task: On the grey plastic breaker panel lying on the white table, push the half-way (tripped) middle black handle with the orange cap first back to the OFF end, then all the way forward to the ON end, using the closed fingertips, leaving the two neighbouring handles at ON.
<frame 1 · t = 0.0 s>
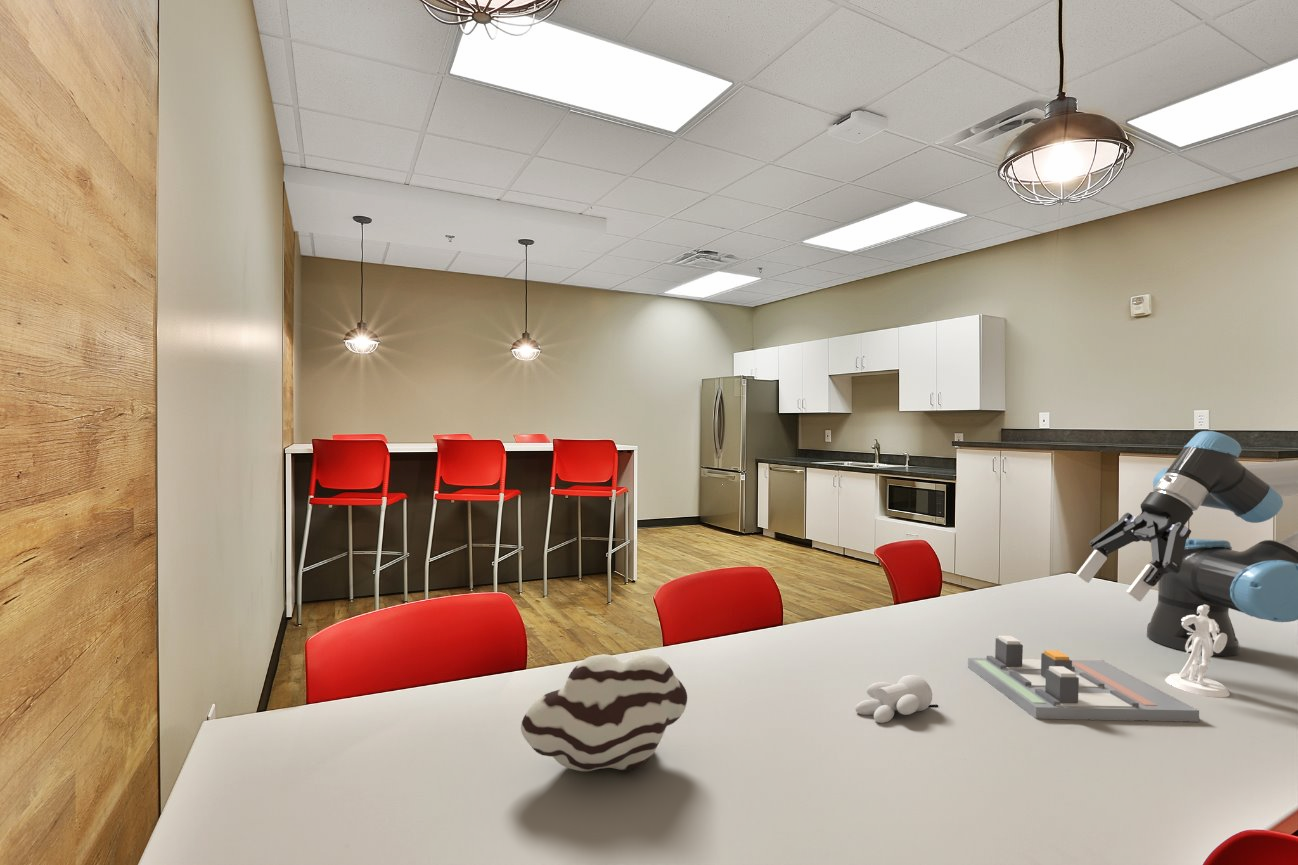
hand: (1106, 587, 123), 15 cm above the table, tool tilted 35°, fingers open, 13 cm apart
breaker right: (1061, 683, 102), point 4 cm above the table, slide at 8.0 cm
breaker left: (1008, 650, 117), point 4 cm above the table, slide at 8.0 cm
breaker mid: (1056, 666, 110), point 4 cm above the table, slide at 4.0 cm
panel: (1072, 691, 110), on the table
sculpture: (607, 770, 82), on the table
figurine: (1196, 687, 114), on the table
toy: (898, 713, 101), on the table
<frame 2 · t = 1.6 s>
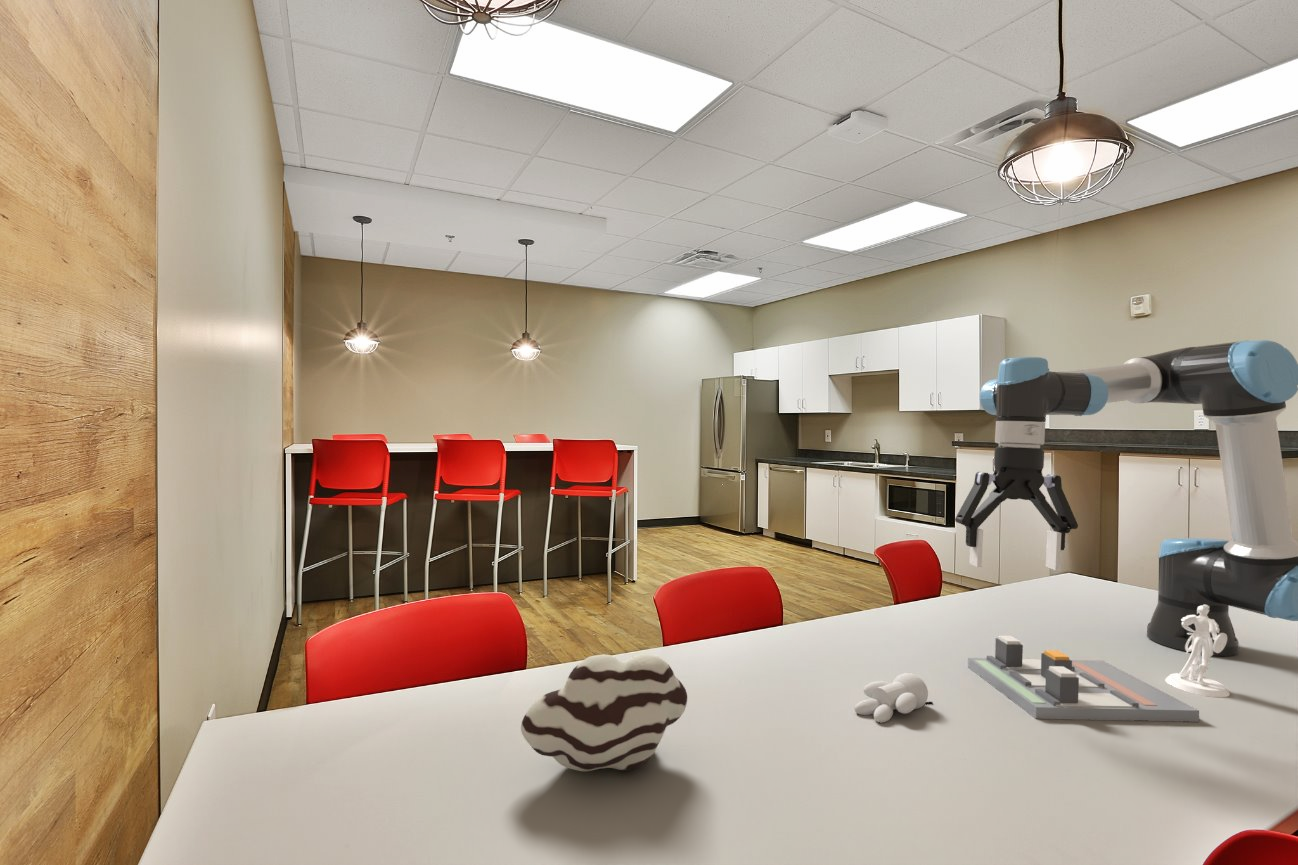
hand: (1013, 567, 110), 22 cm above the table, tool pointing down, fingers open, 13 cm apart
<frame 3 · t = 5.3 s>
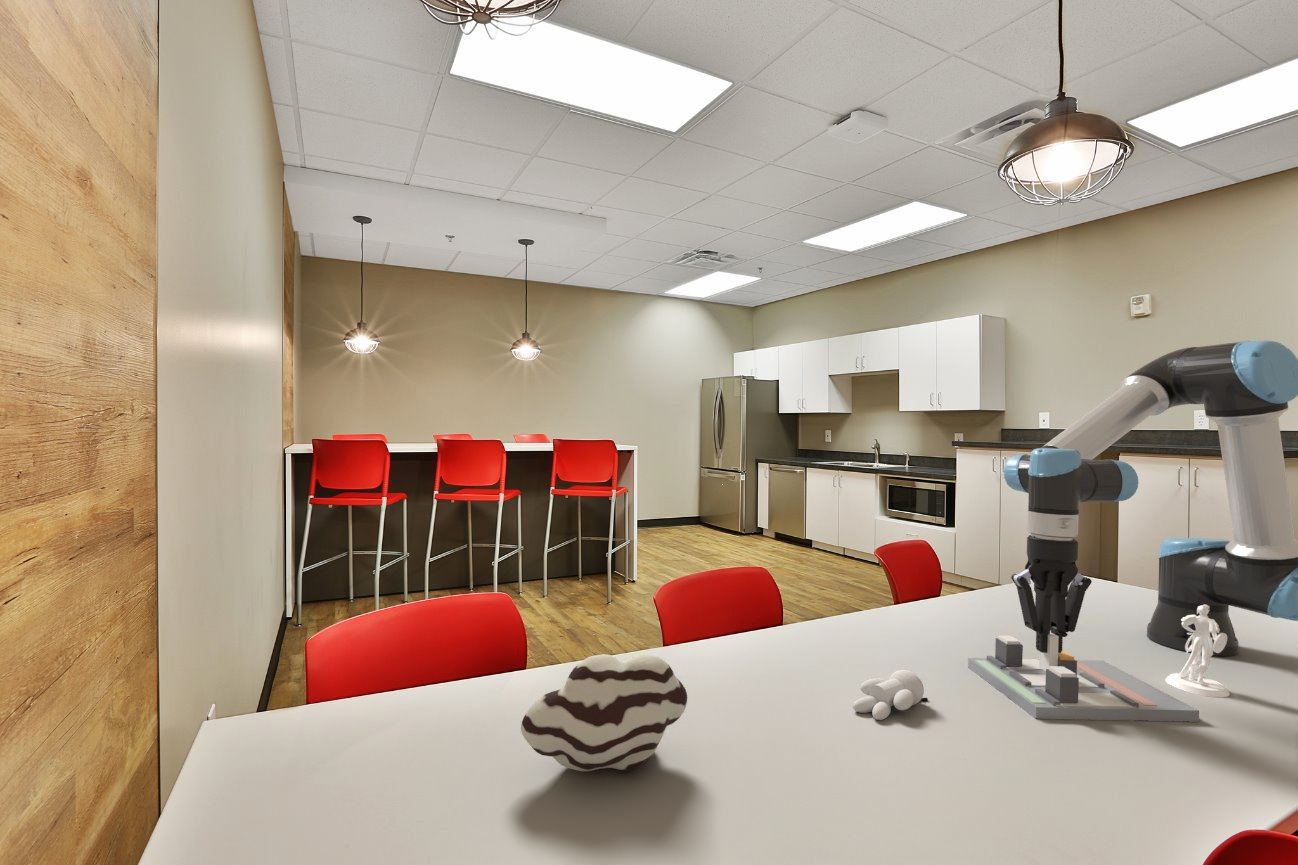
hand: (1048, 670, 110), 4 cm above the table, tool pointing down, fingers closed
breaker mid: (1061, 666, 110), point 4 cm above the table, slide at 3.1 cm, touching gripper
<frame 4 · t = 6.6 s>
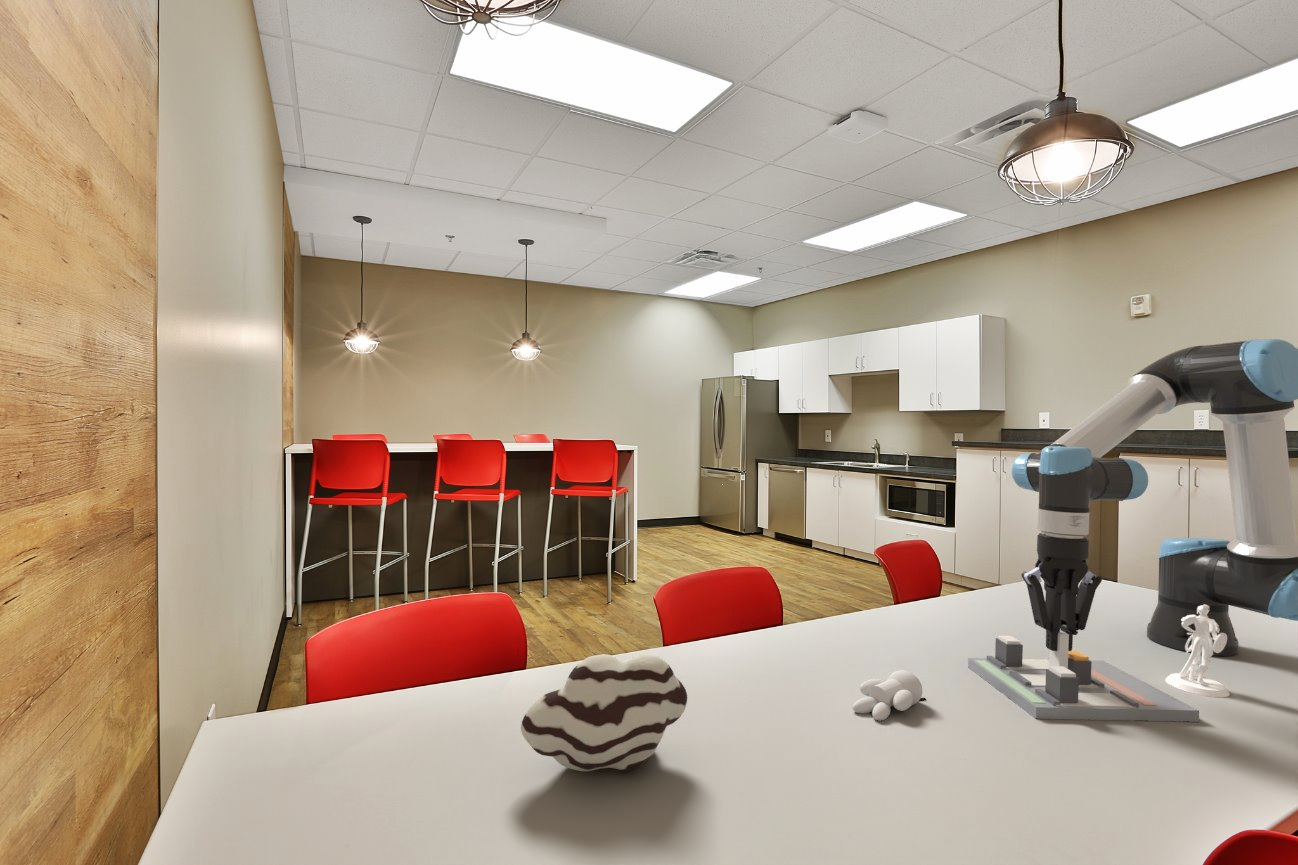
hand: (1058, 668, 110), 4 cm above the table, tool pointing down, fingers closed
breaker mid: (1075, 667, 110), point 4 cm above the table, slide at 0.6 cm
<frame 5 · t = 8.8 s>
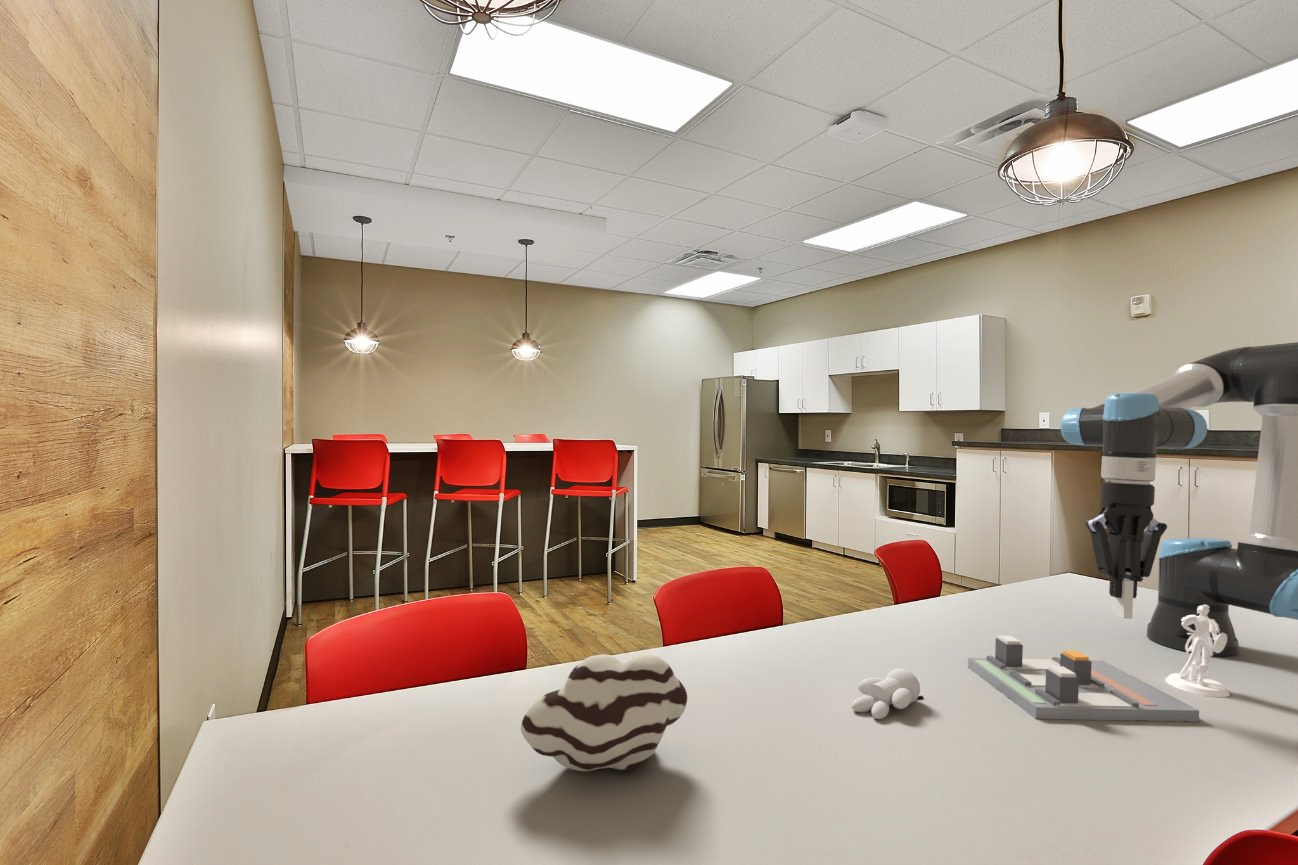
hand: (1122, 616, 110), 14 cm above the table, tool pointing down, fingers closed
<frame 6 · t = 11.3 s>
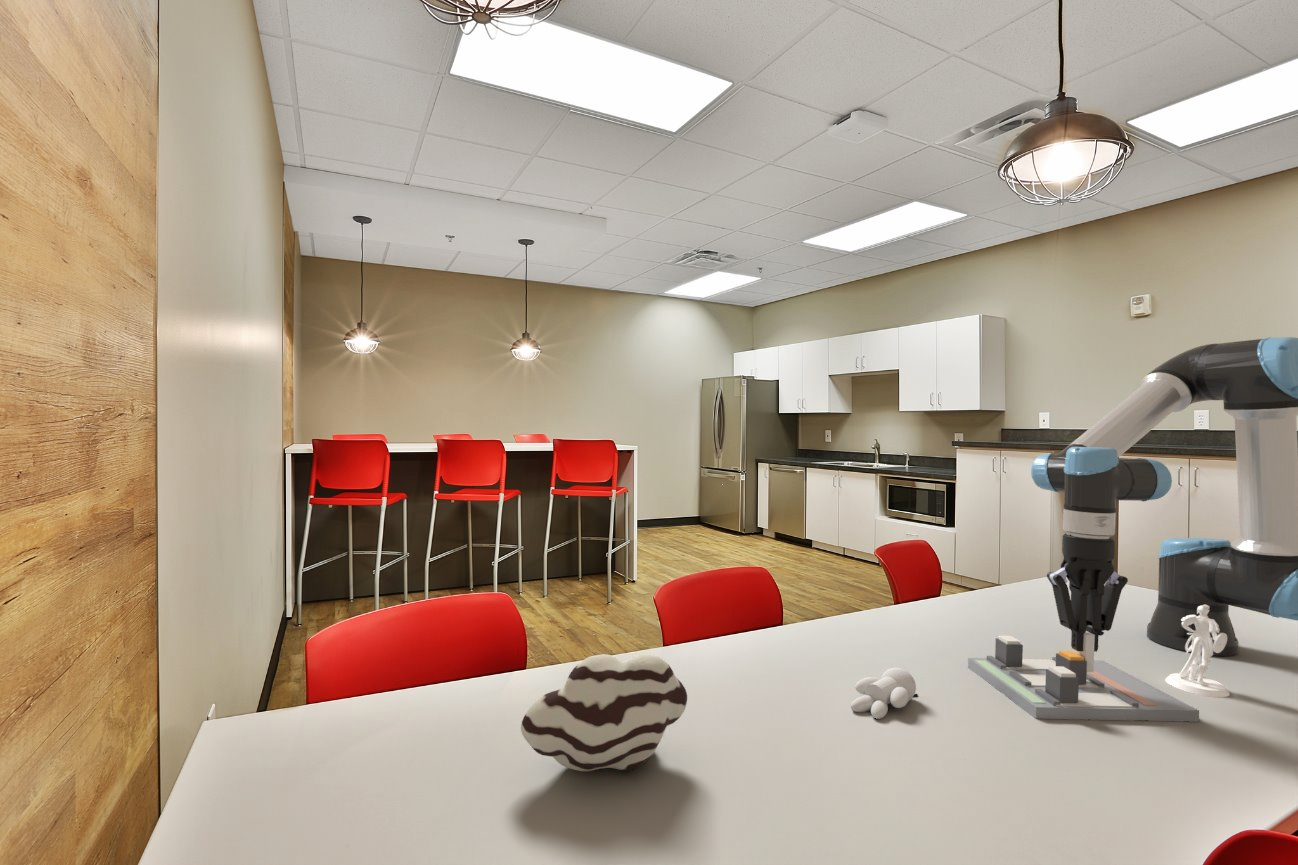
hand: (1083, 668, 110), 4 cm above the table, tool pointing down, fingers closed
breaker mid: (1070, 666, 110), point 4 cm above the table, slide at 1.4 cm, touching gripper
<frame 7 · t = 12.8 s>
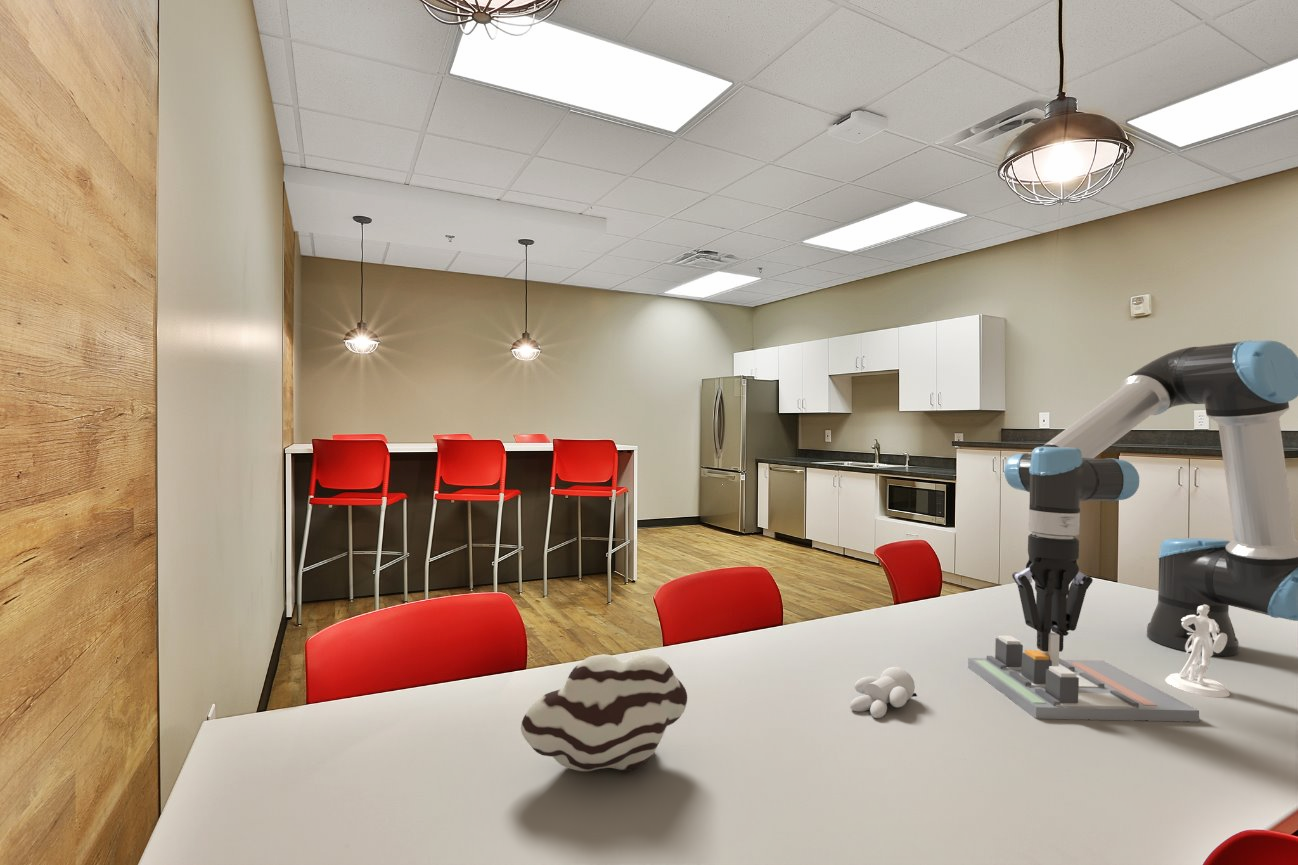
hand: (1049, 669, 110), 4 cm above the table, tool pointing down, fingers closed
breaker mid: (1036, 666, 110), point 4 cm above the table, slide at 7.5 cm, touching gripper
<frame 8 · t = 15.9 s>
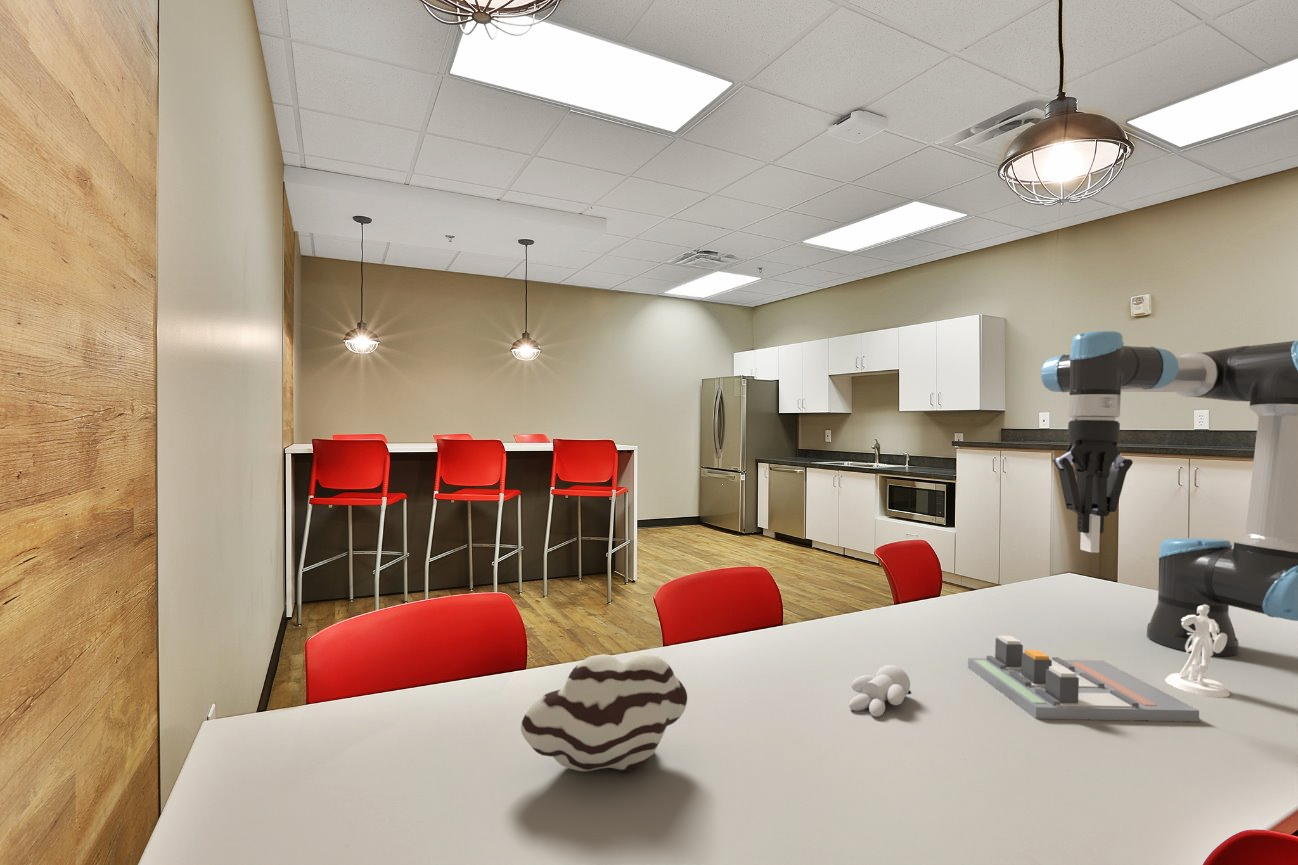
hand: (1089, 550, 112), 24 cm above the table, tool pointing down, fingers closed
breaker mid: (1036, 666, 110), point 4 cm above the table, slide at 7.5 cm
at the end: breaker mid slide at 7.5 cm; breaker left slide at 8.0 cm; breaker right slide at 8.0 cm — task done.
